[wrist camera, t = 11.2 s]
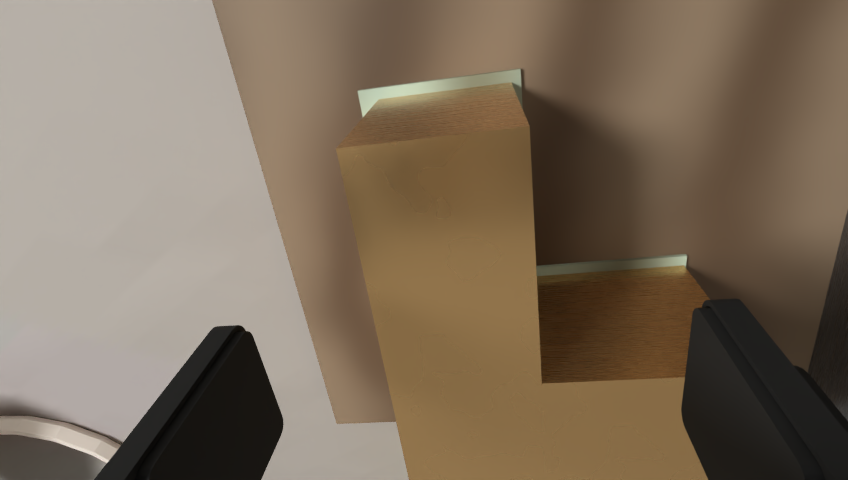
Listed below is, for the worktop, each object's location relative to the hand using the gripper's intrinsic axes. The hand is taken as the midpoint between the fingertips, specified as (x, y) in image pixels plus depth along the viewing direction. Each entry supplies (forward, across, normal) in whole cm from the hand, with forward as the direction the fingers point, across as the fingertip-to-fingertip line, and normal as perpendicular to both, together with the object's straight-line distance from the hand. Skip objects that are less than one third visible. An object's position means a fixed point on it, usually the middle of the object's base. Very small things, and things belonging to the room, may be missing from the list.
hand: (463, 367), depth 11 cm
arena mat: (+10, -3, 0) cm, 11 cm away
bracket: (+9, -2, +2) cm, 9 cm away
